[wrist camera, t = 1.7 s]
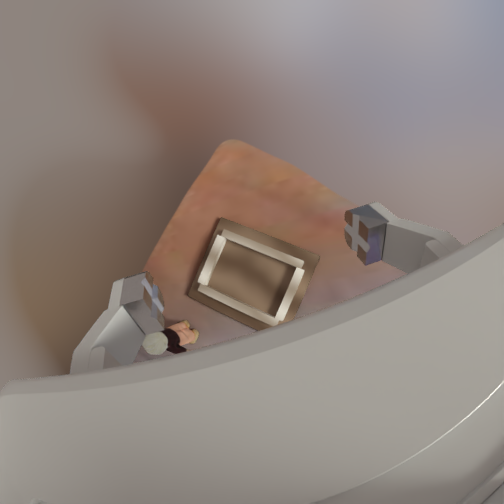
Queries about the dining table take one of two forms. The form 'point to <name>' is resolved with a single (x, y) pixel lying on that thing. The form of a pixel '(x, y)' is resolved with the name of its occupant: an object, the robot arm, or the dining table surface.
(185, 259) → the dining table surface
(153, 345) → the grandmother figurine
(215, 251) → the brown shallow tray
